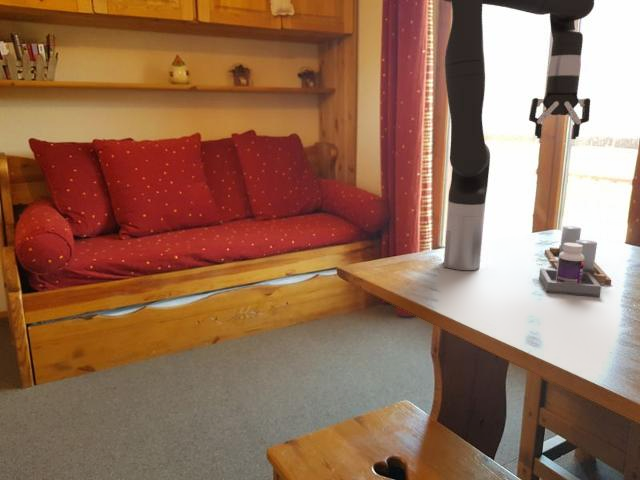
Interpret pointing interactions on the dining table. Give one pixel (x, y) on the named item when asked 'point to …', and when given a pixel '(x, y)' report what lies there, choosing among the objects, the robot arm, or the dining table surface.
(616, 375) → the dining table surface
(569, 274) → the pill bottle
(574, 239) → the fuse
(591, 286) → the tray
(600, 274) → the brown wooden flat rack
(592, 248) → the block
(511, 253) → the dining table surface
